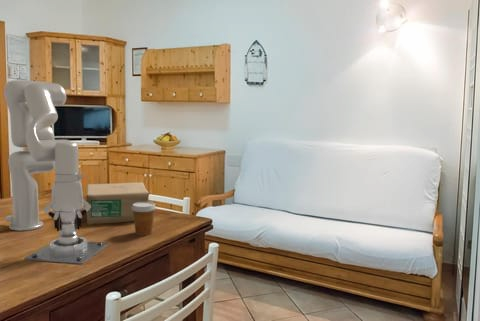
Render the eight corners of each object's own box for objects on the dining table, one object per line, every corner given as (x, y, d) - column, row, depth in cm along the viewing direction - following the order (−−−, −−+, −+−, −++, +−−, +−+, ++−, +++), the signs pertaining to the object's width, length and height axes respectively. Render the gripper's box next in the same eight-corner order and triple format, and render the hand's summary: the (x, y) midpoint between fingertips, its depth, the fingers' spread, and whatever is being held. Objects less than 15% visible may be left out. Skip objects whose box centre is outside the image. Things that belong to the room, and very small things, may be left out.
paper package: (86, 225, 181) (85, 193, 179) (87, 211, 205) (86, 182, 203) (150, 221, 189) (150, 191, 187) (144, 208, 213) (144, 181, 212)
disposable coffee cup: (131, 237, 166) (131, 207, 164) (132, 230, 175) (132, 201, 174) (155, 236, 168) (155, 206, 166) (155, 229, 177) (155, 201, 175)
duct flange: (24, 259, 139) (24, 249, 138) (57, 241, 159) (56, 231, 158) (82, 263, 137) (82, 253, 136) (108, 244, 156) (108, 235, 156)
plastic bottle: (72, 244, 152) (71, 189, 150) (82, 248, 148) (81, 192, 145) (54, 248, 147) (53, 192, 145) (64, 253, 143) (63, 195, 140)
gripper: (92, 175, 151) (93, 224, 154) (39, 177, 144) (41, 228, 147) (94, 179, 145) (95, 230, 147) (38, 181, 138) (40, 234, 140)
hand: (68, 228), depth 147 cm, fingers closed on plastic bottle, 5 cm apart
